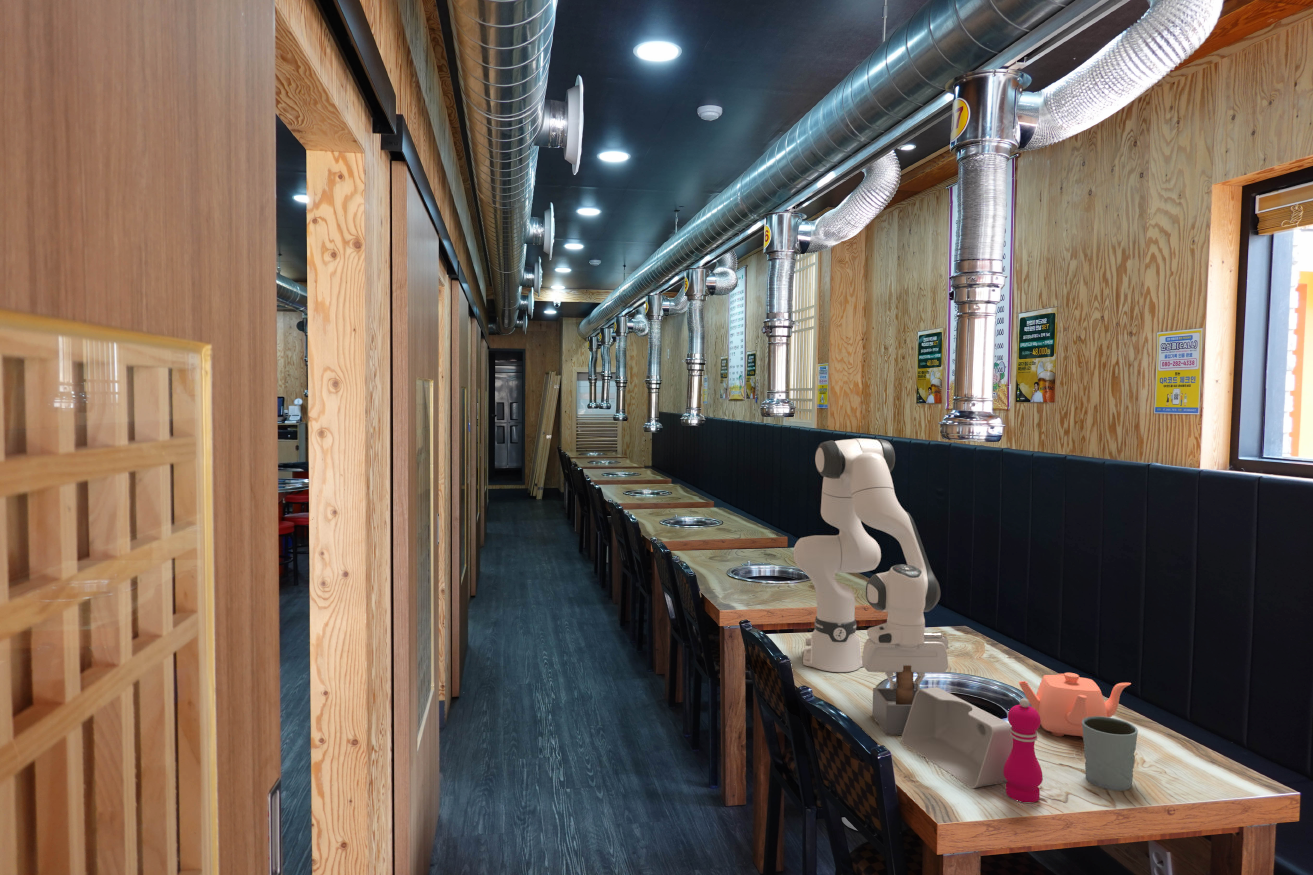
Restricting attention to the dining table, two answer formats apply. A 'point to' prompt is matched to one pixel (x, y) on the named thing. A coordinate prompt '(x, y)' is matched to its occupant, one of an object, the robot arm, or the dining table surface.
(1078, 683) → the teapot
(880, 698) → the box
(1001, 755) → the beige storage bin
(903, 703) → the walnut peg
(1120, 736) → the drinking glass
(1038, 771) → the pepper mill
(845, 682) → the dining table surface
